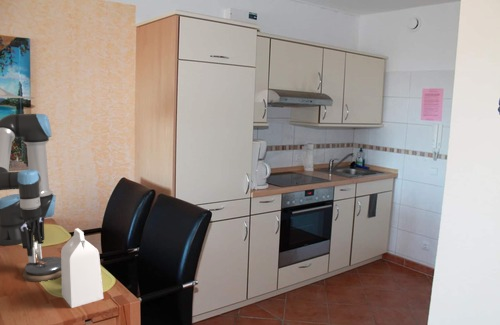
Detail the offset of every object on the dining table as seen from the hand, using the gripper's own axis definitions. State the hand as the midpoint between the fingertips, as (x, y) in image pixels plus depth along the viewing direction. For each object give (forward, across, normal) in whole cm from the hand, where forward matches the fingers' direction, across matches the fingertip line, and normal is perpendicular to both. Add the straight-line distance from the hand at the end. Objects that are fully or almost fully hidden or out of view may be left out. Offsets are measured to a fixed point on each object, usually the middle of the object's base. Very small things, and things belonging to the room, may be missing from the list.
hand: (35, 260), depth 181 cm
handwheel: (+3, -1, -5) cm, 6 cm away
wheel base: (+5, -1, -5) cm, 7 cm away
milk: (+5, -18, -31) cm, 36 cm away
